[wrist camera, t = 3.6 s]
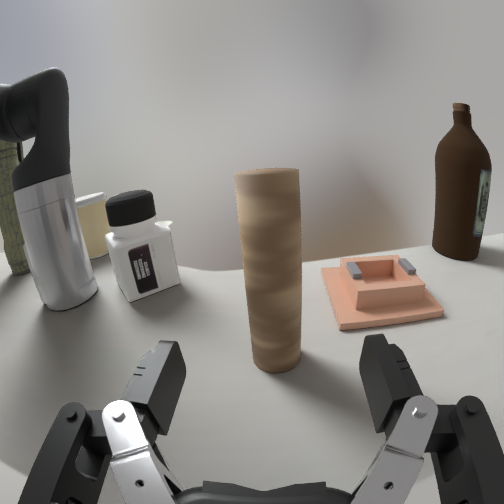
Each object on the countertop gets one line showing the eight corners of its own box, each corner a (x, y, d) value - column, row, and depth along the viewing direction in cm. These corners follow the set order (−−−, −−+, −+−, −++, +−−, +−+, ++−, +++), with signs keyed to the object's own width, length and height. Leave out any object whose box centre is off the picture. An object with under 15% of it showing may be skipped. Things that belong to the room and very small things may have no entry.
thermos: (2, 279, 41) (-26, 130, 28) (30, 258, 52) (8, 126, 39) (22, 278, 41) (-7, 115, 28) (51, 256, 52) (28, 114, 39)
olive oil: (419, 249, 39) (423, 97, 30) (439, 235, 44) (442, 108, 35) (473, 268, 31) (484, 100, 22) (484, 250, 36) (492, 113, 27)
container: (181, 284, 36) (164, 187, 31) (129, 303, 32) (103, 202, 27) (161, 267, 42) (146, 185, 37) (117, 282, 38) (96, 198, 33)
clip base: (339, 330, 24) (342, 298, 23) (321, 273, 35) (321, 248, 34) (442, 316, 23) (450, 286, 22) (401, 268, 34) (405, 244, 33)
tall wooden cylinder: (251, 373, 20) (229, 177, 15) (254, 341, 24) (238, 170, 19) (301, 371, 20) (302, 172, 14) (298, 340, 24) (295, 167, 18)
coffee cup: (120, 241, 57) (109, 189, 52) (113, 256, 48) (99, 195, 44) (84, 249, 54) (72, 198, 50) (72, 264, 46) (58, 206, 42)
